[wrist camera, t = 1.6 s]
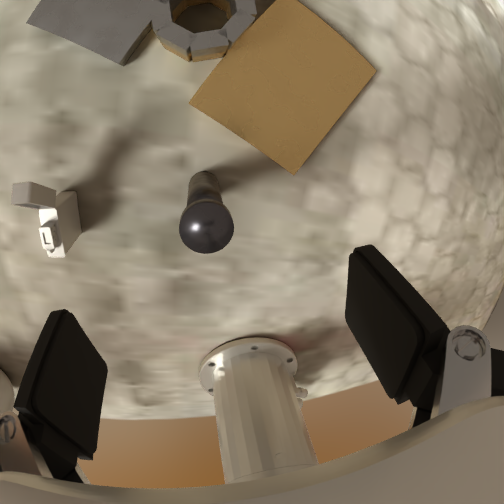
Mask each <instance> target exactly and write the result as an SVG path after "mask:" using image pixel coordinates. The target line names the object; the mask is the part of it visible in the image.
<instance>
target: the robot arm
mask: <svg viewBox="0 0 504 504" xmlns="http://www.w3.org/2000/svg"><path fill="white" fill-rule="evenodd" d="M345 319H346V322H347V324H348V326H349V328H350V330H351V331H352V333H353V335H354V336H355V338H356V340H357V342H358V343H359V345H360V347H361V348H362V350H363V352H364V354H365V355H366V357H367V359H368V361H369V363H370V364H371V366H372V368H373V370H374V371H375V373H376V375H377V377H378V379H379V380H380V382H381V384H382V386H383V388H384V389H385V391H386V393H387V395H388V396H389V397H390V398H391V399H393V398H394V399H395V400H396V402H397V404H401V403H403V402H405V401H407V400H409V399H410V401H411V402H412V404H413V406H414V409H413V413H412V417H411V421H410V425H409V428H408V431H405V432H404V433H401V434H399V435H397V436H395V437H392V438H390V439H388V440H386V441H383V442H381V443H378V444H376V445H373V446H371V447H368V448H365V449H363V450H360V451H358V452H355V453H352V454H350V455H347V456H344V457H341V458H338V459H335V460H332V461H329V462H326V463H323V464H319V463H318V460H317V457H316V454H315V452H314V449H313V445H312V442H311V439H310V437H309V433H308V431H307V428H306V425H305V422H304V419H303V416H302V413H301V410H300V409H301V407H302V405H303V401H302V399H301V398H305V397H306V396H307V394H308V391H307V389H303V388H299V387H298V388H297V387H296V384H295V381H294V376H295V374H296V372H297V367H298V363H297V359H296V356H295V354H294V352H293V350H292V349H291V348H290V347H289V346H287V345H286V344H284V343H283V342H280V341H277V340H274V339H269V338H258V337H255V338H245V339H240V340H235V341H232V342H229V343H226V344H224V345H222V346H220V347H218V348H216V349H215V350H213V351H212V352H210V353H209V354H208V355H207V356H206V357H205V358H204V360H203V361H202V363H201V365H200V368H199V380H200V384H201V386H202V387H203V389H204V390H205V391H206V392H207V393H209V394H210V395H212V396H214V404H215V412H216V420H217V427H218V436H219V443H220V450H221V457H222V464H223V470H224V477H225V483H226V484H225V485H215V486H205V487H193V488H170V489H144V488H121V487H109V486H99V485H91V483H90V482H89V481H88V479H87V477H86V476H85V474H84V473H83V471H82V470H81V468H80V467H79V465H78V463H77V457H78V458H80V459H84V460H93V453H94V452H95V451H96V449H97V440H98V431H99V423H100V415H101V408H102V402H103V395H104V389H105V383H106V378H107V372H108V370H107V365H106V363H105V361H104V360H103V359H102V357H101V356H100V354H99V353H98V352H97V350H96V349H95V347H94V346H93V344H92V343H91V341H90V340H89V338H88V337H87V335H86V334H85V332H84V331H83V329H82V328H81V326H80V325H79V323H78V321H77V320H76V318H75V317H74V315H73V314H72V313H69V311H68V310H66V309H63V310H57V311H53V312H51V313H50V315H49V317H48V319H47V321H46V323H45V325H44V327H43V330H42V332H41V334H40V336H39V339H38V341H37V343H36V346H35V348H34V350H33V353H32V355H31V358H30V360H29V363H28V366H27V368H26V371H25V374H24V376H23V379H22V382H21V385H20V388H19V391H18V394H17V397H16V400H15V403H14V406H13V407H14V408H15V409H16V410H17V411H19V415H18V416H17V415H16V414H15V413H14V412H11V411H7V412H4V413H2V414H1V415H0V504H504V351H501V350H497V349H493V348H490V343H489V340H488V339H487V337H486V336H485V334H483V332H482V331H480V330H478V329H477V328H475V327H472V326H465V325H462V326H458V327H456V328H454V329H453V330H452V331H450V330H449V329H448V327H447V325H446V324H445V323H444V322H443V320H442V319H441V318H440V317H439V316H438V314H437V313H436V312H435V311H434V310H433V309H432V308H431V306H430V305H429V304H428V303H427V302H426V301H425V300H424V299H423V297H422V296H421V295H420V294H419V293H418V292H417V291H416V290H415V289H414V287H413V286H412V285H411V284H410V283H409V282H408V281H407V280H406V279H405V278H404V277H403V276H402V275H401V273H400V272H399V271H398V270H397V269H396V268H395V267H394V266H393V265H392V264H391V263H390V262H389V261H388V260H387V259H386V258H385V257H384V256H383V255H382V254H381V253H380V252H379V251H378V250H377V249H376V248H375V247H374V246H373V245H365V246H361V247H357V248H355V249H354V251H353V253H351V254H350V255H349V268H348V284H347V297H346V309H345ZM297 397H300V398H297Z"/></svg>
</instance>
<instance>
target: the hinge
mask: <svg viewBox="0 0 504 504" xmlns="http://www.w3.org/2000/svg"><path fill="white" fill-rule="evenodd" d="M204 3H211V4H212V5H214V6H216V7H218V8H220V9H221V10H223V11H225V12H226V14H227V20H228V22H227V23H226V24H225V25H224V26H223V27H222V28H221V29H218V30H211V31H205V32H199V33H192V32H190V31H188V30H186V29H185V28H183V27H181V26H179V25H177V24H175V20H176V19H177V18H178V17H179V16H180V14H181V13H182V12H183V11H184V10H185V9H186V8H187V7H188V6H192V5H198V4H204ZM256 15H257V11H256V5H255V0H41V1H40V3H39V4H38V6H37V7H36V8H35V10H34V11H33V13H32V14H31V16H30V18H29V19H28V21H27V22H26V23H28V24H30V25H33V26H36V27H38V28H41V29H43V30H46V31H48V32H51V33H53V34H56V35H58V36H60V37H63V38H65V39H67V40H70V41H72V42H74V43H76V44H79V45H81V46H83V47H85V48H87V49H89V50H92V51H94V52H96V53H98V54H100V55H102V56H104V57H106V58H108V59H110V60H112V61H114V62H116V63H118V64H120V65H122V66H124V65H125V63H126V62H127V60H128V59H129V58H130V56H131V55H132V53H133V52H134V51H135V49H136V48H137V46H138V45H139V44H140V42H141V41H142V40H143V39H144V37H145V36H146V35H147V33H148V32H149V31H150V30H151V28H152V27H153V31H154V33H155V34H156V36H157V37H158V39H159V40H160V42H161V43H162V45H163V46H164V48H165V49H167V50H169V51H171V52H172V53H174V54H176V55H178V56H179V57H181V58H183V59H185V60H186V61H188V62H189V61H190V60H191V58H192V60H193V62H198V61H203V60H209V59H215V58H221V57H223V56H224V54H225V56H224V58H223V59H222V60H221V61H220V62H219V64H218V65H217V66H216V67H215V69H214V70H213V71H212V72H211V74H210V75H209V76H208V78H207V79H206V80H205V81H204V83H203V84H202V85H201V87H200V88H199V89H198V91H197V92H196V93H195V95H194V96H193V98H192V99H191V100H190V102H189V104H190V105H192V106H194V107H195V108H197V109H198V110H200V111H202V112H203V113H205V114H206V115H208V116H209V117H211V118H212V119H214V120H216V121H217V122H219V123H220V124H222V125H223V126H225V127H226V128H228V129H229V130H231V131H232V132H234V133H235V134H237V135H238V136H240V137H241V138H243V139H244V140H245V141H247V142H248V143H250V144H251V145H253V146H254V147H256V148H257V149H258V150H260V151H261V152H263V153H264V154H265V155H267V156H268V157H270V158H271V159H272V160H274V161H275V162H276V163H278V164H279V165H280V166H282V167H283V168H285V169H286V170H287V171H289V172H290V173H291V174H293V175H295V173H296V172H297V171H298V170H299V168H300V167H301V166H302V164H303V163H304V162H305V161H306V159H307V158H308V157H309V156H310V154H311V153H312V152H313V150H314V149H315V148H316V147H317V145H318V144H319V143H320V141H321V140H322V139H323V138H324V136H325V135H326V134H327V133H328V131H329V130H330V129H331V128H332V126H333V125H334V124H335V122H336V121H337V120H338V119H339V117H340V116H341V115H342V114H343V112H344V111H345V110H346V109H347V107H348V106H349V105H350V104H351V102H352V101H353V100H354V99H355V97H356V96H357V95H358V94H359V92H360V91H361V90H362V89H363V87H364V86H365V85H366V84H367V82H368V81H369V80H370V79H371V77H372V76H373V75H374V74H375V72H376V70H375V69H374V68H373V66H372V65H371V64H370V63H369V62H368V61H367V60H366V59H365V58H364V57H363V56H362V55H361V54H360V53H359V52H358V51H357V50H356V49H355V48H353V47H352V46H351V45H350V44H349V43H348V42H347V41H346V40H345V39H344V38H343V37H342V36H340V35H339V34H338V33H337V32H336V31H335V30H334V29H332V28H331V27H330V26H329V25H328V24H327V23H325V22H324V21H323V20H322V19H321V18H319V17H318V16H317V15H316V14H314V13H313V12H312V11H310V10H309V9H308V8H307V7H305V6H304V5H303V4H301V3H300V2H299V1H297V0H276V1H275V2H274V3H273V4H272V5H271V6H270V7H269V8H268V9H267V10H266V11H265V12H264V13H263V14H262V15H261V16H260V17H259V18H258V19H257V20H256V21H255V22H254V23H253V21H254V20H255V19H256V18H255V16H256ZM252 23H253V25H252V26H251V24H252ZM250 26H251V27H250ZM249 27H250V28H249ZM248 28H249V29H248Z"/></svg>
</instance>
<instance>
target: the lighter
mask: <svg viewBox="0 0 504 504" xmlns="http://www.w3.org/2000/svg"><path fill="white" fill-rule="evenodd" d="M11 205H15V206H21V207H27V208H32V209H40V210H39V216H40V222H41V227H40V228H39V232H40V236H41V241H42V245H43V249H47V254H48V256H49V257H64V256H65V255H66V253H67V252H68V250H69V249H70V248H71V246H72V245H73V244H74V242H75V241H76V239H77V238H78V237H79V235H80V234H81V233H82V230H81V224H80V217H79V210H78V202H77V193H76V192H75V191H65V192H61V193H59V194H58V195H57V196H56V190H54V189H51V188H48V187H45V186H42V185H39V184H36V183H34V182H22V183H15V184H13V185H12V197H11Z"/></svg>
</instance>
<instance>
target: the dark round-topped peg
mask: <svg viewBox="0 0 504 504" xmlns="http://www.w3.org/2000/svg"><path fill="white" fill-rule="evenodd" d="M179 232H180V236H181V239H182V241H183V242H184V244H185V245H186V246H187V247H188V248H190V249H191V250H193V251H195V252H198V253H204V254H207V253H214V252H217V251H219V250H221V249H223V248H224V247H225V246H226V245H227V244H228V243H229V242H230V240H231V238H232V236H233V232H234V224H233V220H232V217H231V214H230V212H229V210H228V209H227V207H226V206H225V205H224V204H223V202H222V198H221V193H220V189H219V185H218V181H217V179H216V177H215V176H214V175H213V174H211V173H209V172H205V171H203V172H198V173H196V174H195V175H194V176H193V177H192V178H191V180H190V182H189V190H188V200H187V207H186V208H185V210H184V211H183V213H182V215H181V219H180V226H179Z"/></svg>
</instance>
